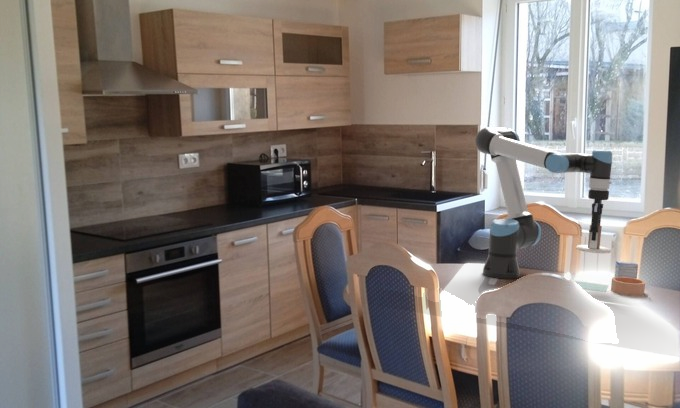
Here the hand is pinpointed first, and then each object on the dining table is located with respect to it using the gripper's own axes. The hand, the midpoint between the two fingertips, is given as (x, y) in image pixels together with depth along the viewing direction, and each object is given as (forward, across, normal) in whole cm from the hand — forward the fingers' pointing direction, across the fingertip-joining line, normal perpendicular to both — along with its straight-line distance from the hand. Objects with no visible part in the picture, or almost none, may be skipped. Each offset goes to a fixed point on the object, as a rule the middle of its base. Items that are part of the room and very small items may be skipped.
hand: (593, 247), depth 277 cm
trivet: (+17, 0, 0) cm, 17 cm away
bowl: (+16, 0, -14) cm, 22 cm away
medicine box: (+17, +19, -12) cm, 28 cm away
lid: (+1, 0, 0) cm, 1 cm away
